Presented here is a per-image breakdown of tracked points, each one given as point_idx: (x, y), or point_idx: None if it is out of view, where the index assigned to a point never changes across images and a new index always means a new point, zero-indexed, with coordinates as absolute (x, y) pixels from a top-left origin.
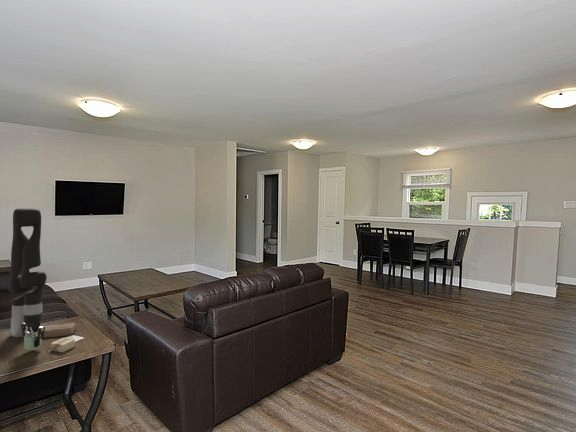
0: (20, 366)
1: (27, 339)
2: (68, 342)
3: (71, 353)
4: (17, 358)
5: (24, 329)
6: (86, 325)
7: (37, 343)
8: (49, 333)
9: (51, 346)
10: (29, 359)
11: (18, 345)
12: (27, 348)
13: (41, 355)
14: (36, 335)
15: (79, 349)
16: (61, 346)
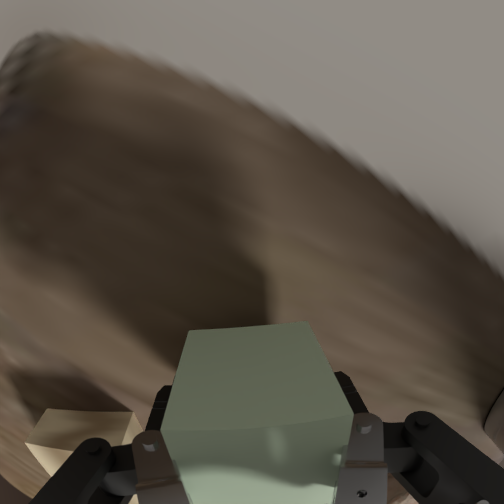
0: (29, 132)
1: (255, 402)
2: (51, 475)
3: (5, 406)
4: (205, 195)
5: (450, 486)
6: None
7: (154, 410)
8: None
9: (120, 434)
10: (87, 239)
11: (451, 340)
12: (249, 331)
13: (90, 332)
14: (218, 493)
15: None
16: (36, 435)
